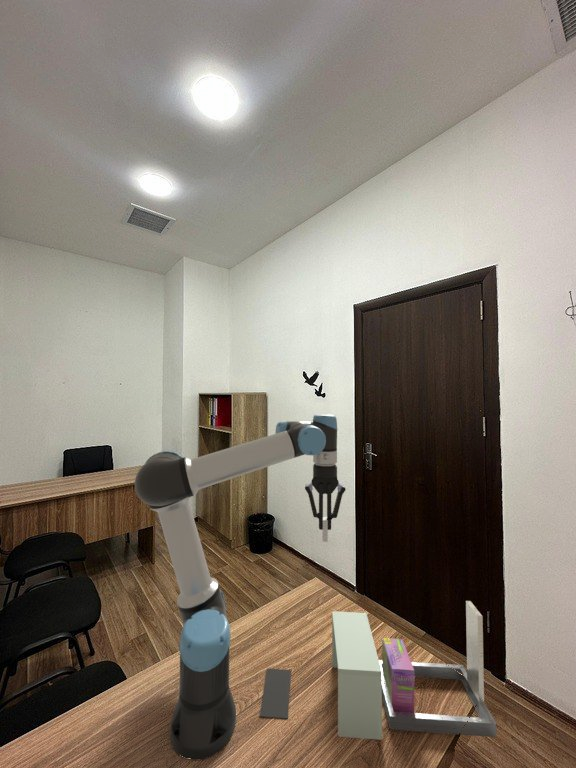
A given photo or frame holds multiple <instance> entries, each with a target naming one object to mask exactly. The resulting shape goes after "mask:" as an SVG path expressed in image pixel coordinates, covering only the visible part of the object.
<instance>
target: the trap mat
mask: <svg viewBox="0 0 576 768" xmlns="http://www.w3.org/2000/svg"><path fill="white" fill-rule="evenodd" d="M291 676H292V670H291V669H284V668H283V669H281V668H268V667H267V668H266V673H265V679H264V685H263V693H262V698H261V703H260V711H259V718H267V719H268V718H269V719H282V720H289V711H290V710H289V707H290V692H291V681H292V680H291V678H292V677H291Z"/></svg>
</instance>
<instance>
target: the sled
mask: <svg viewBox="0 0 576 768" xmlns="http://www.w3.org/2000/svg"><path fill="white" fill-rule="evenodd" d="M483 617H484V616H483V615H482V614H481V612H480V611H479V610H478V609H477V606H475V605H474V604H473V602H472V601H471V600H465V619H466V620H465V623H466V625H465V627H466V629H465V630H466V634H465V635H466V668H465V667H464V665H463V664H451V663H449V664H448V663H436V662H435V663H434V662H418V661H417V662H416V661H411V663H412V666H413V668H414V671H415V677H414V678H416V677H417V678H430V679H431V678H432V679H433V678H434V679H445V680H446V679H447V680H448V679H449V680H460V682H461V684H462V685H463V687H464V690H465V691H466V693H467V695H468V697H469V699H470V702H471V703H472V705H473V707H474V708H475V710H476V712H477V714H478V716H479V717H474V716H473V717H472V716H461V715H459V716H458V715H447V714H434V713H433V714H432V713H421V712H420V713H418V712H414V713H406V712H394V711H393V707H392V703H391V699H390V696H389V692H388V688H387V685H386V681H385V677H384V673H383V670H382V660H381V659H379V663H380V667H381V671H382V704H383V707H384V710H385V714H386V718H387V723H388V727H389V730H392V731H395V730H396V731H407V732H421V733H432V734H433V733H434V734H435V733H436V734H445V735H446V734H447V735H459V733H461V734H460V735H459V736H463V735H464V736H474V737H488V738H489V737H490V738H497V737H498V736H497V722H496V721H495V719H494V717H493V716H492V713H491V712H490V710H489V709H488V707H487V705H486V703H485V683H484V682H485V679H484V678H485V677H484V676H485V675H484V671H485V670H484V631H483V630H484V628H483V625H484V623H483V622H484V621H483V619H484V618H483ZM446 664H447V665H446ZM448 665H449V666H448ZM451 667H452V668H453V669H452V668H451ZM454 669H455V670H456V671H455V670H454ZM457 671H458V672H460V673H461V674H463V675H464V676H463V675H461V674H459V673H458V672H457ZM476 704H477V706H476ZM475 706H476V707H475ZM469 717H470V718H469ZM467 721H468V722H467ZM465 724H466V725H465ZM464 725H465V726H464ZM463 727H464V728H463ZM462 728H463V729H462ZM461 730H462V732H461Z"/></svg>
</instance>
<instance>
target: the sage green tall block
mask: <svg viewBox="0 0 576 768" xmlns="http://www.w3.org/2000/svg"><path fill="white" fill-rule="evenodd" d="M331 614H332V615H331V619H332V621H331V622H332V623H331V628H332V629H331V632H332V633H331V636H332V637H331V639H332V640H331V642H332V643H331V644H332V646H331V647H332V649H331V653H332V654H331V656H332V657H331V659H332V660H331V663H332V665H331V666H332V668H334V669H336V668H337V736H338V737H340V738H341V737H342V738H343V737H344V738H352V739H353V738H354V739H355V738H356V739H366V740H378V741H379V740H381V741H383V698H382V671H381V667H380V663H379V660H380V659H379V657H378V653H377V648H376V646H375V641H374V638H373V633H372V630H371V626H370V621H369V618H368V614H367V612H357V611H353V612H352V611H338V610H337V611H336V610H335V611H332V613H331Z"/></svg>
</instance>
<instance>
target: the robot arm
mask: <svg viewBox="0 0 576 768" xmlns="http://www.w3.org/2000/svg"><path fill="white" fill-rule="evenodd" d="M304 455H305V456H313V457H312V460H313V461H312V462H313V465H312V479H311V482H309V484H305V486H304V490H305V491H306V493H307V496H308V498H309V504H310V507H311V511H312V512H311V513H312V515H313V518H316V519H318V529H319V530H320V531H321V530H322V531H321V532H322V536H321V537H322V542H323V543H324V542H325V543H328V540H329V538H328V537H329V535H328V531H331V530H332V520H333V519H337V517H338V514H339V510H340V506H341V502H342V498H343V495H344V493H345V492H346V486H345V485H343V484H342V483H340V481H339V480H338V465H337V463H338V421H337V417H336V416H335V415H334V414H314V415H313V417H312V420H309V421H303V420H302V421H301V420H300V421H298V420H297V421H293V420H292V421H290V420H286V421H279V422H278V423H277V424H276V426H275V433H274V434H271V435H267V436H264V437H261V438H257V439H253V440H252V441H247V442H244V443H240V444H237V445H235V446H231V447H227V448H224V449H221V450H218V451H215V452H212V453H208V454H205V455H201V456H198V457H195V458H189V457H188V456H184V457H183V456H182V455H180V453H178V452H175V451H173V450H172V451H171V450H164V451H163V450H162V451H160V452H156V453H154V454H153V455H151V456H149V458H148V459H147V460H146V461H145V463H144V464H143V465H142V466H141V467H140V468H139V470H138V471H137V474H136V475H135V478H134V479H135V480H134V490H135V493H136V495H137V497H138V498H139V500H141V501H142V502H143V503H144V504H146V505H148V506H149V510H151V511H154V512H156V513H157V516H158V518H159V523H160V526H161V529H162V532H163V533H162V534H163V536H164V540H165V543H166V547H167V550H168V554H169V557H170V561H171V563H172V564H171V565H172V568H173V571H174V574H175V577H176V582H177V585H178V588H179V592H180V593H179V595H178V596H177V600H176V604H177V607H178V610H179V611H178V612H179V614H180V619H181V621H182V629H181V633H180V637H179V645H178V646H179V648H178V650H179V688H178V690H179V691H178V693H179V695H178V698H177V701H176V705H175V707H174V711H173V713H172V717H171V721H170V743H171V746H172V748H173V749H174V751H175V752H176V753H177V754H178V755H179V756H180V755H181V756H180V757H182V756H183V757H185V758H184V759H186V758H191V759H201V760H204V759H207V758H210V757H212V756H214V755H216V754H217V753H219V752H220V751H221V750H222V749H223V748H224V747H226V746H227V744H228V743H229V742H230V740H231V738H232V737H233V734H234V732H235V729H236V723H237V708H236V703H235V700H234V697H233V693H232V691H231V687H230V644H231V629H230V624H229V620H228V619H227V603H226V602H227V601H226V599H225V598H226V597H225V596H224V595H225V594H224V593H223V591H222V590H221V588H220V585H219V581H218V580H217V579H216V578H215V577H211V573H210V570H209V567H208V563H207V560H206V557H205V552H204V549H203V545H202V542H201V539H200V534H199V532H198V528H197V525H196V522H195V517H194V514H193V509H192V506H191V503H190V498H192V497H194V496H197V494H198V492H199V491H200V490H201V489H205V488H208V487H210V486H213V485H214V486H215V485H217V484H219V483H223V482H225V481H229V480H232V479H234V478H238V477H240V476H244V475H247V474H250V473H252V472H256V471H259V470H262V469H265V468H268V467H270V466H274V465H277V464H280V463H283V462H285V461H289V460H292V459H295V458H298V457H301V456H304ZM336 489H337V495H336V499H335V503H334V507H333V511H332V494H333V493H334V491H336ZM313 490H315V491H316V492H317V493H318V511H317V507H316V503H315V499H314V494H313ZM324 495H326V516H324ZM183 757H182V758H183Z"/></svg>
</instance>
